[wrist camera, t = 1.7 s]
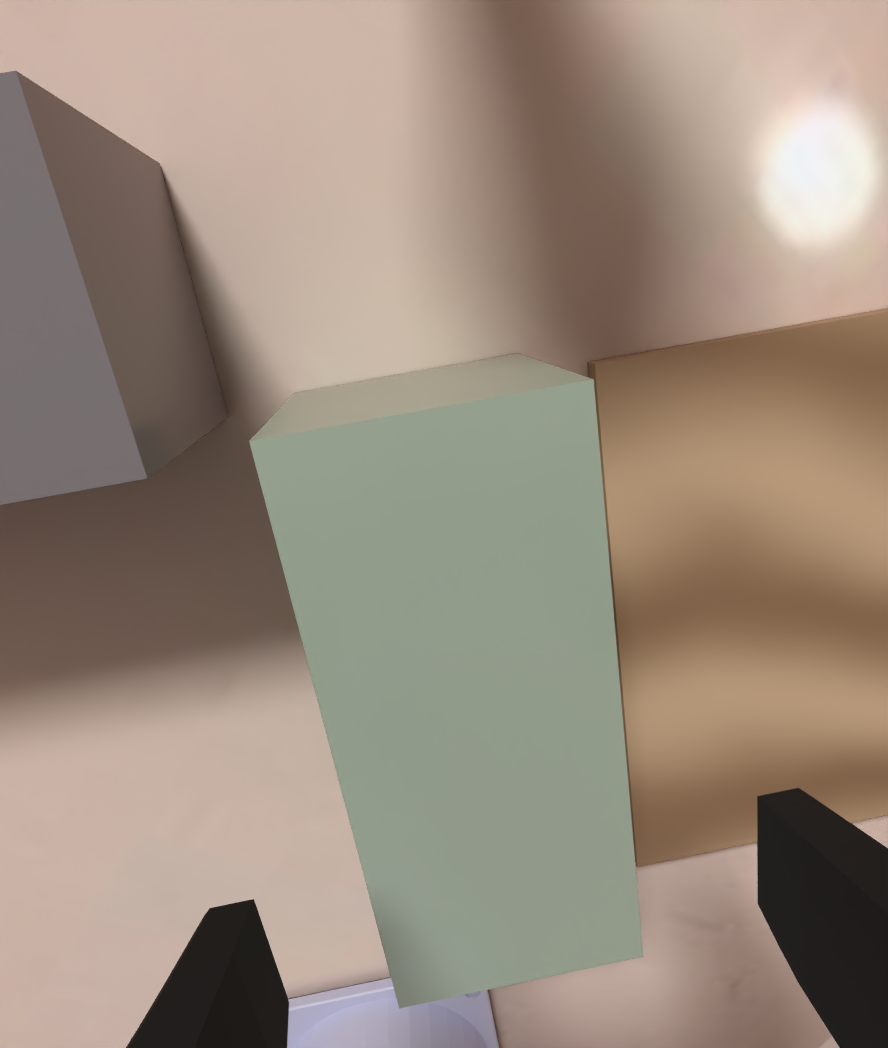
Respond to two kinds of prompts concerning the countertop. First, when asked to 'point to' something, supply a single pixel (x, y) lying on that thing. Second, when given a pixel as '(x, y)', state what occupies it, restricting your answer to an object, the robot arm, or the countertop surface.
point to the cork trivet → (749, 575)
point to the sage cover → (464, 662)
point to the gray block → (91, 307)
